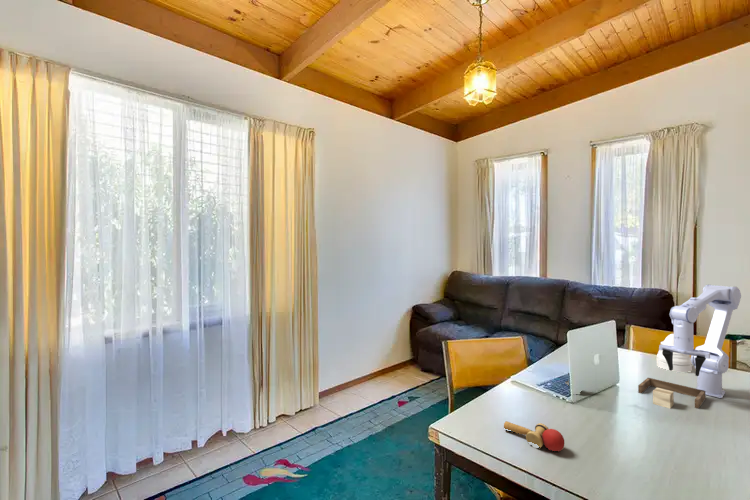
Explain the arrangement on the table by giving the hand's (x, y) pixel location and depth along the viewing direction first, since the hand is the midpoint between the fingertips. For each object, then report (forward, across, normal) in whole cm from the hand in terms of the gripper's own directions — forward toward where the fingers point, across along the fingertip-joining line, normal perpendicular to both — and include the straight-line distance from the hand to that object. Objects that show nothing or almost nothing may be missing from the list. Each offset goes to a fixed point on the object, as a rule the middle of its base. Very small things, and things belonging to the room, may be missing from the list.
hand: (683, 372), depth 133 cm
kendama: (+11, -23, -72) cm, 77 cm away
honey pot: (+11, -11, +40) cm, 43 cm away
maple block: (+10, -4, -11) cm, 16 cm away
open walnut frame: (+10, -4, 0) cm, 11 cm away
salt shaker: (+11, -30, -25) cm, 40 cm away
